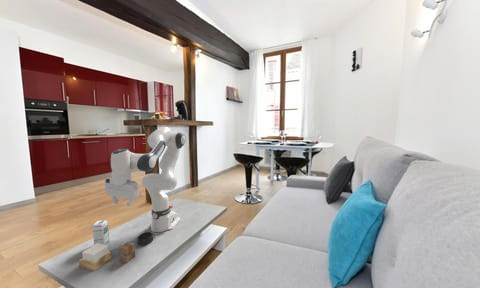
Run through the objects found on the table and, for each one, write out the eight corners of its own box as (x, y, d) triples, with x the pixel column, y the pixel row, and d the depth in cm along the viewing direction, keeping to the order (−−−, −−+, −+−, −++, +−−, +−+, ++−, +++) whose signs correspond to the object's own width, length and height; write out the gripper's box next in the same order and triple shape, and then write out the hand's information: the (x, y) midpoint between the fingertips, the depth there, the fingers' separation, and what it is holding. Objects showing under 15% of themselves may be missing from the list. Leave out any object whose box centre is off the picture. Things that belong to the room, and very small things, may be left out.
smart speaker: (149, 235, 127) (149, 230, 127) (156, 240, 122) (155, 234, 121) (135, 242, 120) (135, 236, 120) (141, 247, 115) (141, 241, 114)
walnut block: (128, 255, 108) (127, 241, 107) (135, 256, 107) (134, 243, 106) (120, 261, 103) (119, 247, 102) (127, 262, 102) (126, 248, 101)
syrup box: (104, 247, 115) (102, 224, 114) (93, 248, 114) (91, 225, 113) (109, 241, 121) (107, 219, 119) (99, 242, 120) (97, 220, 118)
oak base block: (98, 255, 109) (98, 248, 108) (112, 258, 106) (111, 251, 105) (79, 267, 99) (78, 260, 99) (93, 271, 96) (92, 264, 96)
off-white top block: (98, 249, 107) (97, 243, 107) (108, 252, 105) (108, 245, 105) (82, 259, 100) (82, 252, 99) (94, 262, 97) (93, 255, 97)
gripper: (141, 179, 102) (142, 204, 103) (113, 176, 108) (114, 200, 109) (131, 182, 96) (133, 209, 97) (102, 179, 102) (103, 204, 103)
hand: (122, 204), depth 103 cm, fingers open, 8 cm apart
